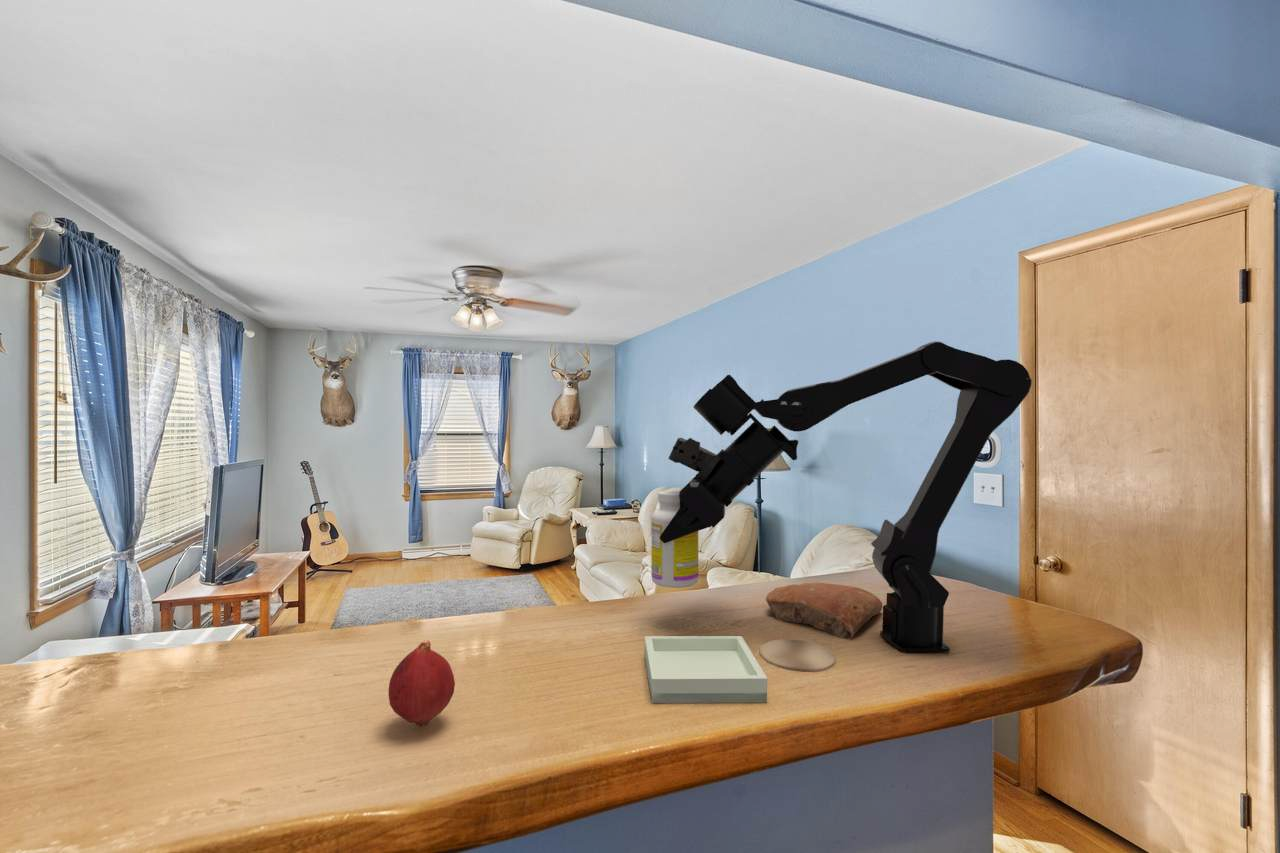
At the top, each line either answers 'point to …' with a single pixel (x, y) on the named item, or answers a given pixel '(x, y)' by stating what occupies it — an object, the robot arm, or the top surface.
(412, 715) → the onion
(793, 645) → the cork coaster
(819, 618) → the ceramic shard
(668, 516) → the supplement bottle
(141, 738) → the top surface
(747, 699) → the tray
